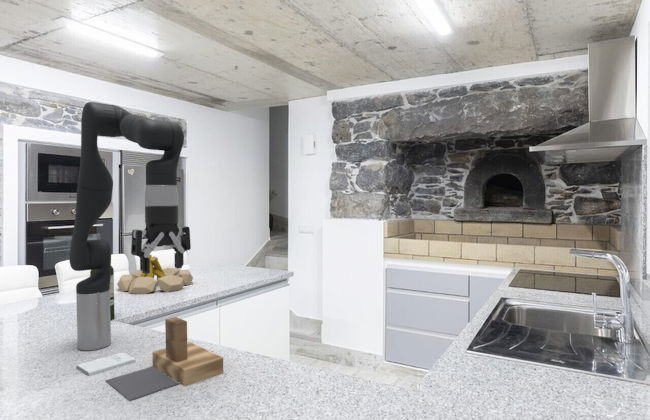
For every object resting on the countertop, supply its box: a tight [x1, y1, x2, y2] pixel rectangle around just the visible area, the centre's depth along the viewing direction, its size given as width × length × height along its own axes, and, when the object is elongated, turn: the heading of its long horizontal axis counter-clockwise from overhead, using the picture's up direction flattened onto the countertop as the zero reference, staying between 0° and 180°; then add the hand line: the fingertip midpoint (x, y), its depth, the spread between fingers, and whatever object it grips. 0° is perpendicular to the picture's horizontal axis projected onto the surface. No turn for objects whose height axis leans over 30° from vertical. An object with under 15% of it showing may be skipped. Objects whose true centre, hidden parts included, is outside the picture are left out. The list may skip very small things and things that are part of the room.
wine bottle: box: [89, 265, 116, 321], centre depth 161 cm, size 8×8×30 cm
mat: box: [105, 366, 180, 402], centre depth 107 cm, size 15×12×1 cm
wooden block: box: [151, 341, 224, 387], centre depth 115 cm, size 18×11×4 cm, turn 46°
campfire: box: [116, 254, 194, 295], centre depth 219 cm, size 35×34×17 cm
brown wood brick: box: [164, 316, 188, 362], centre depth 113 cm, size 6×3×10 cm, turn 46°
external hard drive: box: [75, 351, 136, 377], centre depth 118 cm, size 2×8×12 cm
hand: (162, 270), depth 104 cm, fingers open, 8 cm apart
